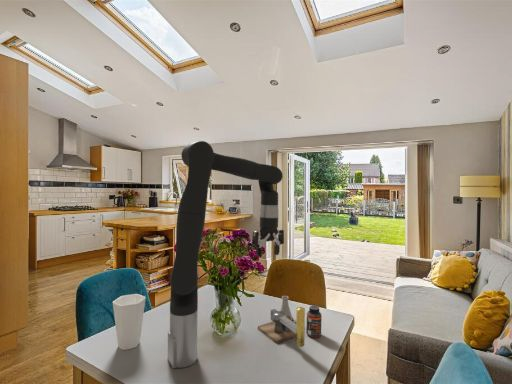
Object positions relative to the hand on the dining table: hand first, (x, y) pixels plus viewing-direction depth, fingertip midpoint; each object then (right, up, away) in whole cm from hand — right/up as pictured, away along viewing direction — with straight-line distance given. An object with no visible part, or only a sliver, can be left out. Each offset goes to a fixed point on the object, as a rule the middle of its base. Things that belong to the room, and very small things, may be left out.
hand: (268, 255), depth 111 cm
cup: (-53, -32, -8) cm, 62 cm away
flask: (+8, -32, +14) cm, 36 cm away
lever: (+7, -29, -5) cm, 30 cm away
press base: (+4, -32, +2) cm, 32 cm away
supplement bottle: (+19, -33, 0) cm, 38 cm away
